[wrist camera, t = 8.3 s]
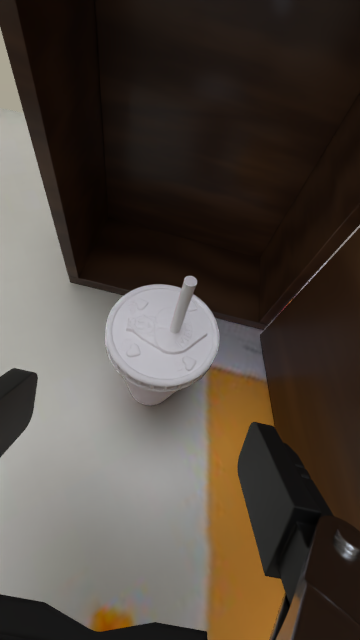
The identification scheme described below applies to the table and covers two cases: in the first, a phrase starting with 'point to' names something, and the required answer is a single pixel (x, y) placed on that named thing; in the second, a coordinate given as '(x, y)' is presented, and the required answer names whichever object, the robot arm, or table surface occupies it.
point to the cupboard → (194, 140)
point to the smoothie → (161, 339)
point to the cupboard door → (321, 379)
